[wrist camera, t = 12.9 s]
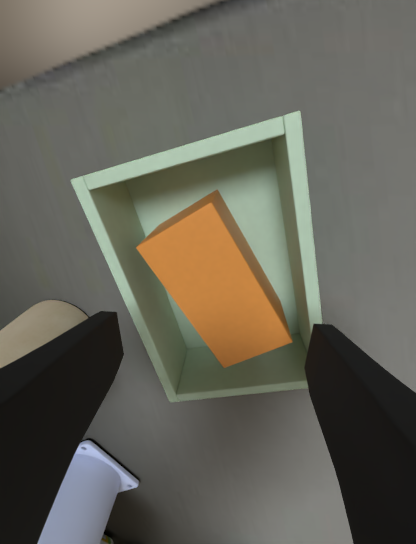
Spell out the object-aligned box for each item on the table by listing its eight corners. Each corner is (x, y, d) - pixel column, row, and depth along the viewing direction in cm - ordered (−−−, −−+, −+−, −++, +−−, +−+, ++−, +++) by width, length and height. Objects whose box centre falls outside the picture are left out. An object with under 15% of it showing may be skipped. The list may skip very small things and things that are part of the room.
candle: (61, 286, 18) (-108, 417, 9) (112, 340, 20) (11, 496, 11) (13, 318, 20) (-169, 456, 11) (64, 366, 22) (-57, 519, 13)
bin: (182, 351, 20) (169, 402, 16) (115, 171, 15) (69, 179, 11) (308, 333, 18) (329, 386, 14) (280, 122, 13) (300, 109, 9)
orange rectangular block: (226, 324, 18) (223, 368, 14) (158, 224, 15) (134, 247, 12) (280, 301, 17) (293, 342, 13) (217, 188, 14) (211, 201, 10)
